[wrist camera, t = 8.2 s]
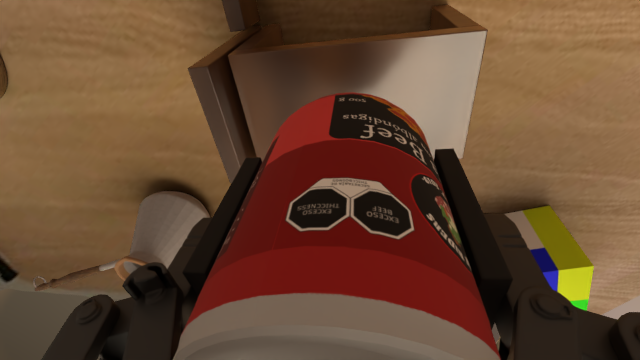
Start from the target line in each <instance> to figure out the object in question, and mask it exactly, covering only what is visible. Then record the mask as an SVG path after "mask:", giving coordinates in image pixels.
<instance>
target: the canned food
mask: <svg viewBox="0 0 640 360" xmlns="http://www.w3.org/2000/svg"><path fill="white" fill-rule="evenodd" d="M173 360H501V358H500V355H499V352H498V349H497V346H496V343H495V340H494V338H493V334H492V330H491V326H490V322H489V319H488V316H487V314H486V311H485V308H484V305H483V302H482V299H481V296H480V293H479V290H478V288H477V285H476V282H475V279H474V276H473V273H472V270H471V267H470V264H469V262H468V259H467V256H466V253H465V250H464V247H463V244H462V241H461V238H460V236H459V233H458V230H457V227H456V224H455V221H454V218H453V215H452V212H451V210H450V207H449V204H448V201H447V198H446V195H445V192H444V189H443V186H442V184H441V181H440V178H439V175H438V172H437V169H436V166H435V163H434V160H433V158H432V155H431V152H430V149H429V146H428V143H427V141H426V138H425V135H424V133H423V131H422V130H421V128H420V127H419V125H418V124H417V123H416V121H415V120H414V119H413V118H412V117H411V116H409V115H408V114H407V113H406V112H405V111H404V110H403V109H401V108H399V107H398V106H396V105H394V104H392V103H391V102H389V101H387V100H385V99H383V98H380V97H377V96H373V95H370V94H364V93H355V92H349V93H336V94H332V95H328V96H324V97H321V98H319V99H317V100H315V101H312V102H310V103H308V104H306V105H305V106H303V107H301V108H300V109H299V110H297V111H296V112H295V113H293V114H292V115H291V116H289V117H288V119H287V120H286V121H285V122H284V123H283V124H282V125H281V127H280V128H279V130H278V132H277V133H276V135H275V137H274V139H273V141H272V143H271V145H270V147H269V149H268V152H267V154H266V156H265V158H264V160H263V162H262V164H261V166H260V168H259V170H258V173H257V175H256V177H255V179H254V181H253V183H252V185H251V187H250V189H249V191H248V193H247V196H246V198H245V200H244V202H243V204H242V206H241V208H240V210H239V212H238V214H237V216H236V219H235V221H234V223H233V225H232V227H231V229H230V231H229V233H228V235H227V237H226V240H225V242H224V244H223V246H222V248H221V250H220V252H219V254H218V256H217V258H216V260H215V263H214V265H213V267H212V269H211V271H210V273H209V275H208V277H207V279H206V281H205V283H204V286H203V288H202V290H201V292H200V294H199V296H198V299H197V302H196V304H195V307H194V309H193V311H192V313H191V315H190V317H189V319H188V321H187V324H186V326H185V328H184V330H183V332H182V334H181V336H180V341H179V346H178V349H177V352H176V354H175V356H174V358H173Z"/></svg>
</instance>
